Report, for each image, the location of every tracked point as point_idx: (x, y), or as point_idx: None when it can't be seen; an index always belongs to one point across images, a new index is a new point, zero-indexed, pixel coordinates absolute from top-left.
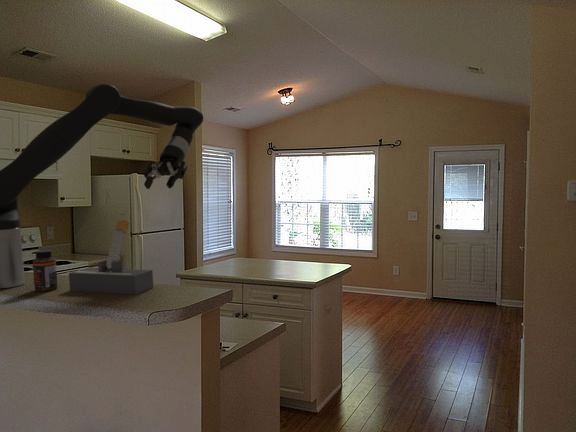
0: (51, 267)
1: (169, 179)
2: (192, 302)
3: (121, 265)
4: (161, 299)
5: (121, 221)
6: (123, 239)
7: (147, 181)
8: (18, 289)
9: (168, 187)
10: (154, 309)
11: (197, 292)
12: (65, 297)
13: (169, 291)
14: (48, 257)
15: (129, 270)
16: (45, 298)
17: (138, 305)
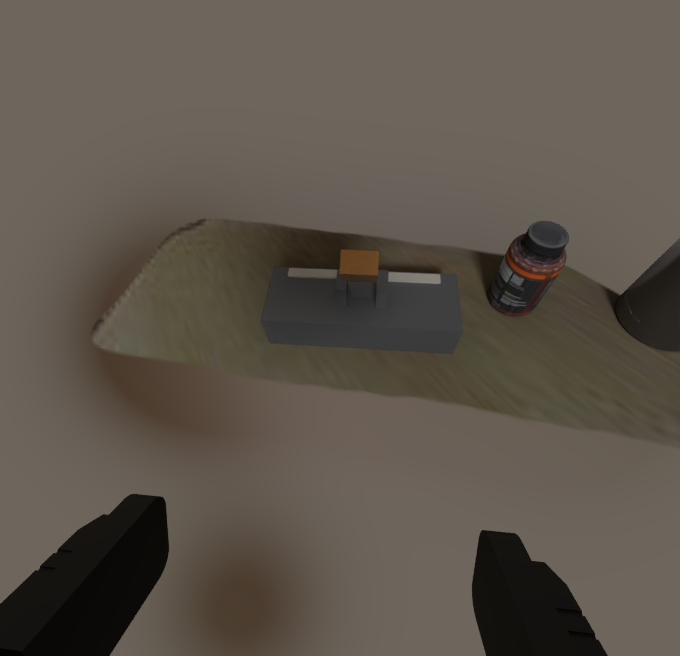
0: (503, 260)
1: (79, 563)
2: (154, 264)
3: (336, 296)
4: (216, 271)
5: (360, 251)
6: (348, 284)
7: (513, 582)
8: (579, 294)
9: (161, 537)
10: (207, 229)
11: (157, 319)
12: (410, 260)
13: (219, 319)
14: (521, 242)
15: (319, 311)
16: (443, 251)
17: (242, 240)
